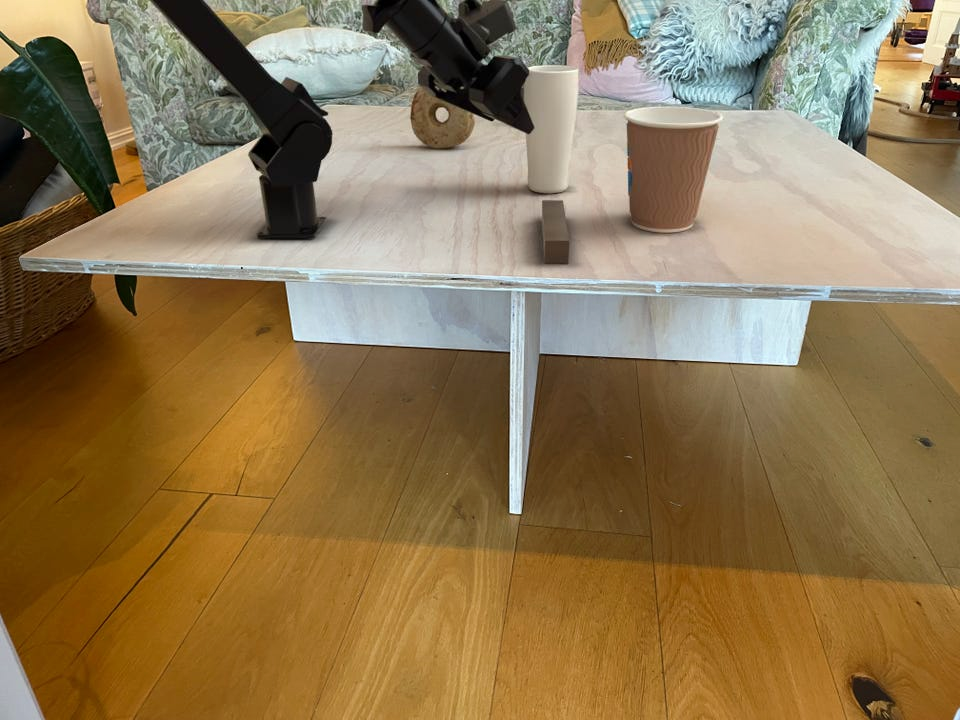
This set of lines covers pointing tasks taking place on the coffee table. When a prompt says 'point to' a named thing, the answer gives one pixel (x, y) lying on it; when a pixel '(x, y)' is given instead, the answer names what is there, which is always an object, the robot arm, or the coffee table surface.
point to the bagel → (432, 128)
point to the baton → (555, 232)
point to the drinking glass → (550, 125)
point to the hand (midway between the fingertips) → (512, 124)
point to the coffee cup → (668, 164)
